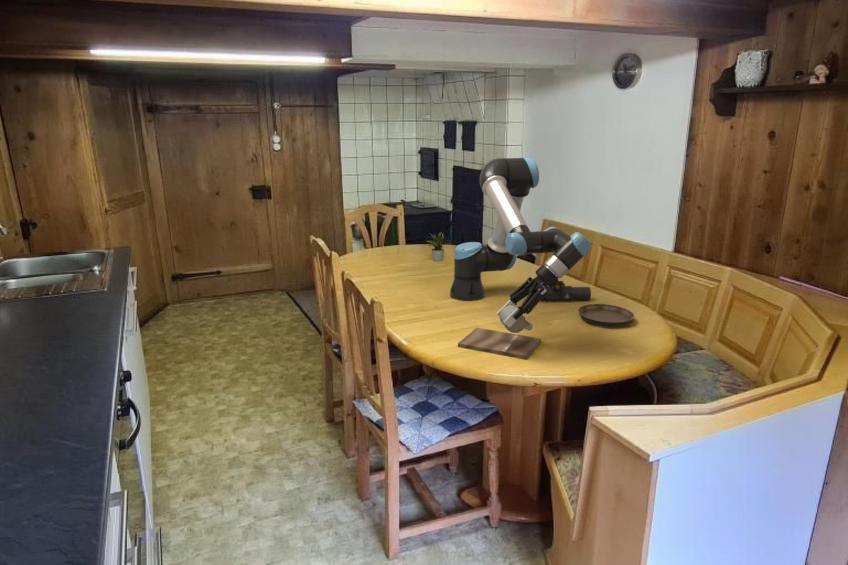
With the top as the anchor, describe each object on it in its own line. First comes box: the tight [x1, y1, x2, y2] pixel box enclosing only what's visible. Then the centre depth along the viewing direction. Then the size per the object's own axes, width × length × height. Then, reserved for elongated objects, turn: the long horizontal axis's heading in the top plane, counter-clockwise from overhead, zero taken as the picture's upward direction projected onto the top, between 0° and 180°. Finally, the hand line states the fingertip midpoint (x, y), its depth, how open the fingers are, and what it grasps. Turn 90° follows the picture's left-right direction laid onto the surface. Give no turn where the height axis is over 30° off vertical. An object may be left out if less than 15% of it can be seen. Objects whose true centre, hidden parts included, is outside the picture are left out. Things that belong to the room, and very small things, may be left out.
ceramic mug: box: [499, 305, 534, 334], centre depth 185 cm, size 11×8×8 cm
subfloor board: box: [457, 327, 542, 360], centre depth 190 cm, size 24×17×1 cm
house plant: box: [426, 231, 448, 262], centre depth 308 cm, size 14×14×16 cm
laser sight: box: [539, 280, 592, 302], centre depth 236 cm, size 10×22×10 cm, turn 91°
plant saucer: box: [577, 303, 635, 328], centre depth 213 cm, size 21×21×3 cm
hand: (502, 320), depth 185 cm, fingers closed on ceramic mug, 8 cm apart
